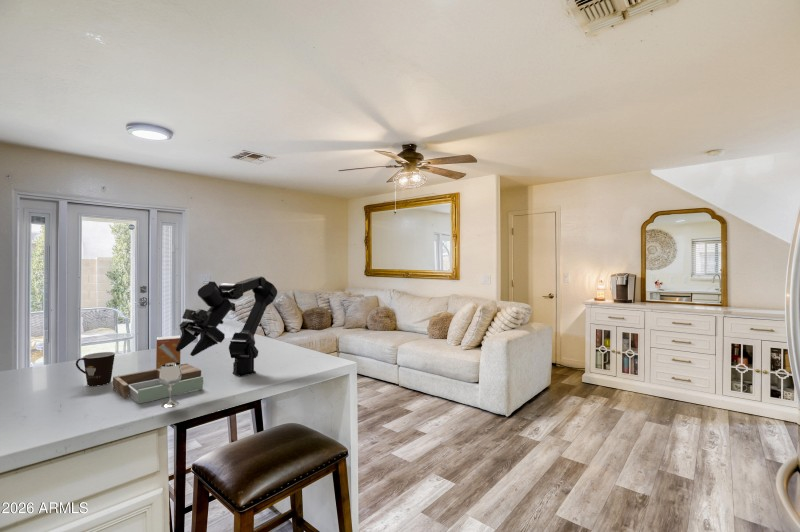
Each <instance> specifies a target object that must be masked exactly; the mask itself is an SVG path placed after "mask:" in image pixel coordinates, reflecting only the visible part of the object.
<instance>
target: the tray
mask: <svg viewBox="0 0 800 532" xmlns="http://www.w3.org/2000/svg"><path fill="white" fill-rule="evenodd" d="M203 386H204V376H203V375H201V377H196V378H192V379H187V380H182V381H179V382H178V383H177V384H175V385H173V386H171V387H172V392H171V397H173V396H178V395H182V394H186V393H190V392H194V391H198V390H203V389H204V387H203ZM168 388H169V386H164V385H162V384H161V383H160V381H159V379H155V380H150V381H145V382H140V383H134V384H129V397H130V398H131V399H132V400H134V401H135V402H136V403H138V404H143V403H148V402H152V401H156V400H159V399H160V400H161V399H165V398H169V391H168Z"/></svg>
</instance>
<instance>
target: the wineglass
mask: <svg viewBox="0 0 800 532" xmlns="http://www.w3.org/2000/svg"><path fill="white" fill-rule="evenodd" d="M180 365H181V363H180V364H179V363H167V364H163V365H161V369H160V373H159V381H160V383H161V384H162V385H164V386H169V388H168V391H169V397H168V401H167V402H164V403H162V404H161V407H162V408H172V407H175V406H177V405H179V401H175V400H174V401H173V400H172V396H171V392H172V387H171V386H173V385H175V384H177V383H178V382H179V381H180V380H181V376H182V373H181V367H180Z"/></svg>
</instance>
